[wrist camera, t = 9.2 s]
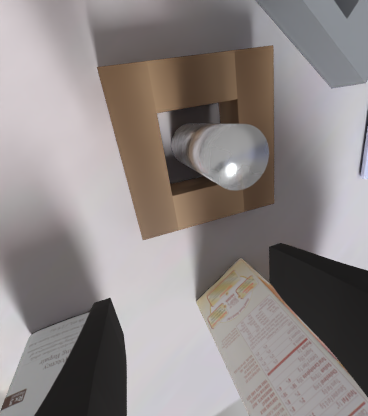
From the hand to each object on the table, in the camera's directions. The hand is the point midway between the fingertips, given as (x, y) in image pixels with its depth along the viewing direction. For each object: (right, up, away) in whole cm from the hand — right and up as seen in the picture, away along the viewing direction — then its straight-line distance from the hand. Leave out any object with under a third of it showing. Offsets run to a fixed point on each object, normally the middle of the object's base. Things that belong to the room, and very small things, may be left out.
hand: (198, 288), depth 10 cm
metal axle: (0, +9, +8) cm, 12 cm away
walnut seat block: (0, +8, +8) cm, 12 cm away
